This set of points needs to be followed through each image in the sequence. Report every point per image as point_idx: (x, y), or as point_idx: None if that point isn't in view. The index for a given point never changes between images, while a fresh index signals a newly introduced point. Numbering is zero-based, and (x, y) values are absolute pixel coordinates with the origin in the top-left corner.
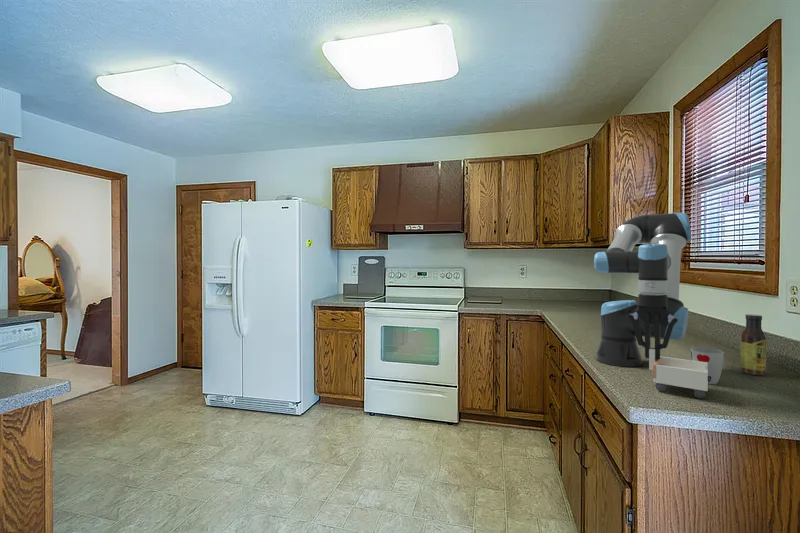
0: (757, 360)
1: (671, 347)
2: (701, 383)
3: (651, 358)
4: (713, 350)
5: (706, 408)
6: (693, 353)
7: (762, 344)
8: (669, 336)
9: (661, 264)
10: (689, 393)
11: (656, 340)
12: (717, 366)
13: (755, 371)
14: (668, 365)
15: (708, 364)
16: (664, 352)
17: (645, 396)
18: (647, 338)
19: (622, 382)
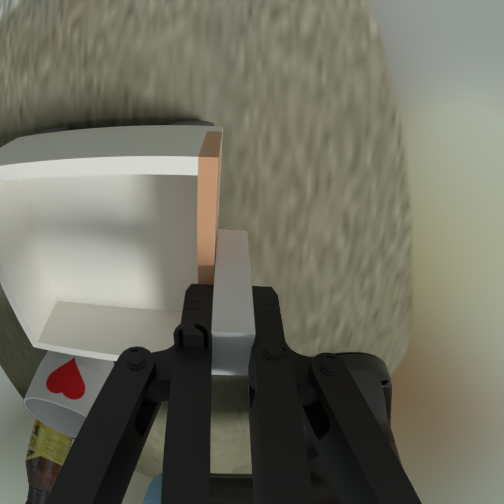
0: (40, 421)
1: (213, 468)
2: (16, 145)
3: (236, 277)
4: (66, 429)
5: (42, 33)
6: None
7: (28, 452)
8: (77, 444)
9: None
10: None
11: (195, 410)
12: (42, 360)
13: None
14: (168, 328)
15: (56, 363)
16: (222, 453)
17: (257, 18)
18: (277, 420)
19: (351, 180)
